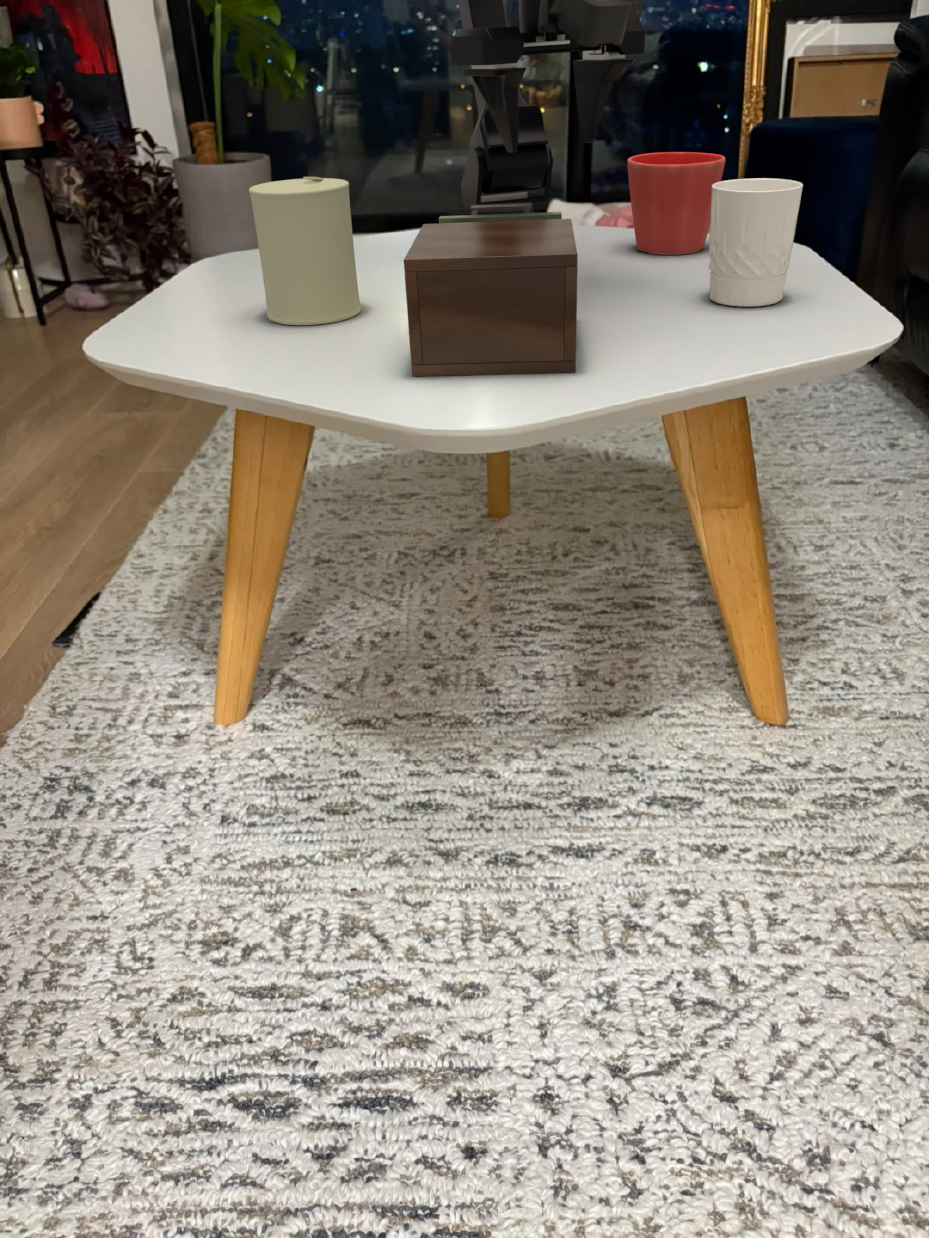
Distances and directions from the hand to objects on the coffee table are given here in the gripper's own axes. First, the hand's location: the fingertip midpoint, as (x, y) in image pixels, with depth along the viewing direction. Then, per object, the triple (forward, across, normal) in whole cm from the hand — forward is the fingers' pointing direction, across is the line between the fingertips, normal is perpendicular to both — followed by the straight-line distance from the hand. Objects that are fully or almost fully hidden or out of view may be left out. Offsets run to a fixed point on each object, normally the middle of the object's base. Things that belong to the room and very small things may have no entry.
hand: (550, 147), depth 93 cm
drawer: (+12, -9, -4) cm, 16 cm away
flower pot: (+13, +22, +5) cm, 26 cm away
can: (+13, -23, +8) cm, 28 cm away
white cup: (+13, +10, -17) cm, 24 cm away
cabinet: (+13, -17, -14) cm, 25 cm away
